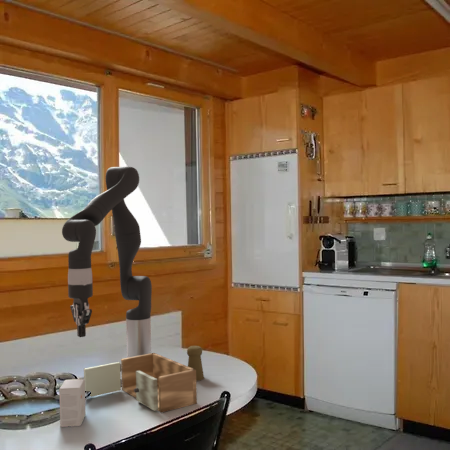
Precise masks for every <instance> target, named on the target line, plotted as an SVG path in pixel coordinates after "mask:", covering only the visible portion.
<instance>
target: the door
mask: <svg viewBox="0 0 450 450" xmlns="http://www.w3.org/2000/svg"><path fill="white" fill-rule="evenodd" d="M83 379H85V391H91V394H90V396H91V397H96V396H102V395H106V394H110V393H114V392H118V391H122V375H121V361H120V362H119V361H117V362H116V361H115V362H111V363H106V364H101V365H95V366H90V367H86V368H83ZM91 397H90V398H91Z"/></svg>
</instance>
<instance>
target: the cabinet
mask: <svg viewBox="0 0 450 450" xmlns="http://www.w3.org/2000/svg"><path fill="white" fill-rule="evenodd" d="M120 364H121V372H120V374H121V379H122V387H121V391H123V392H125V393H127V394H128V395H130V396H132V397H133V398H135V399H136V401H137V402H139V403H140V404H142V405H144V406H145V407H147V408H149V409H150V410H152V411H153V412H154V411H158V412H160V413H161V414H162V413H166V412H169V411H173V410H176V409H180V408H184V407H189V406H193V405H195V404H198V401H197V400H198V398H197V397H198V395H197V394H198V392H197V381H196V370H195V369H193V368H190V367H188V365H185V364H182V363H181V362H178V361H175V360H173V359H171V358H168V357H165V356H163V355H161V354H158V353H155V352H151V353H150V354H145V355H140V356H134V357H129V358H127V357H125V358H121V359H120Z"/></svg>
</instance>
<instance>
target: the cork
mask: <svg viewBox="0 0 450 450" xmlns="http://www.w3.org/2000/svg"><path fill="white" fill-rule="evenodd" d="M186 353H187V355H188V362H187V366H188V367H190V368H193V369H195V370H196V382H199V381H202V380H204V379H205V375H204V367H203V362H202V361H203V360H202V354H203V348H202V347H201V346H199V345H190V346H189V347H187V350H186Z"/></svg>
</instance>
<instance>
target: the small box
mask: <svg viewBox="0 0 450 450" xmlns="http://www.w3.org/2000/svg"><path fill="white" fill-rule="evenodd" d="M58 389H59V390H58V395H59V425H60V426H59V427H60V428H68V426H71V427H81V426H82V423H83V421H84V419H85V417H86V411H87V410H86V398H85V379H84V378H78V379H77V378H74V379H64V381H63V382H62V385H61V386H60V387H59V388H58Z"/></svg>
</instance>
